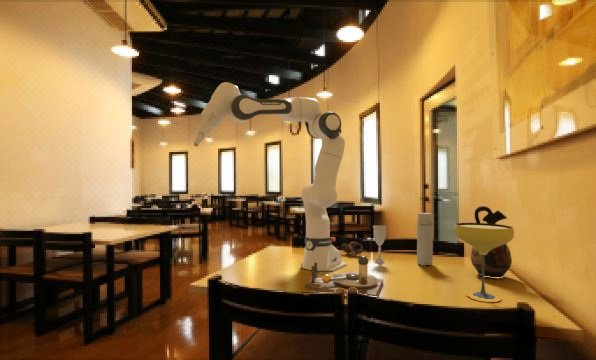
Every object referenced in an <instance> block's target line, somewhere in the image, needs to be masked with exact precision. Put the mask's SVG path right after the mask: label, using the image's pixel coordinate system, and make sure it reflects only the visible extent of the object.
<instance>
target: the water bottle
mask: <svg viewBox="0 0 596 360" xmlns="http://www.w3.org/2000/svg"><path fill="white" fill-rule="evenodd" d="M416 223H417V225H416V230H417V231H416V240H417V241H416V263H417V265H419V264H420V266H422V265H431V266H432V265H433V263H434V262H433V259H434V257H433V256H434V255H433V253H434V252H433V251H434V250H433V249H434V237H433V236H434V235H433V234H434V214H433V213H431V212H430V213H429V212H418V213H417V221H416Z"/></svg>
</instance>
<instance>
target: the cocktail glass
mask: <svg viewBox="0 0 596 360" xmlns="http://www.w3.org/2000/svg"><path fill="white" fill-rule="evenodd" d="M454 233H455V235H456V236H457V238H458V239H460V240H461V241H463V242H464V243H466V244H468V245H469V246H471V247H475V248H476V249H477V250H478V252H479V253H480V254H481V255H482V276H481V288H480V291H475V292H476V293H473V295H474V296H477V297H479V298H484V299H494V298H495V296H493V295H494V294H493V295H491V294H492V293H489V294H488V292H486V287H485V277H484V255H486V254H487V253H488V252H489V251H490V250H491V249H493V248H496V247H498V246H501V245H504V244H508V243H510V242H511V241H512V240H513V239H514V237H515V230H514V227H513V226H510V225H503V224H499V223H498V224H497V223H496V224H487V222H486V223H484V222H482V223H481V222H480V223H476V222H459V223H455V226H454Z"/></svg>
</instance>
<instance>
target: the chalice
mask: <svg viewBox="0 0 596 360" xmlns="http://www.w3.org/2000/svg"><path fill="white" fill-rule="evenodd" d="M372 228H373V238H374V241H375V243H376V245H377V246H378V248H377V249H378V252H377V253H378V256H377V257H376V258H375V260H374V263H375V264H379V265H382V264H385V260H384V258H383V257H382V256H381V255H382V252H381V250H382V247H381V246H382V245H384V244H383V243H384V242H385V239H386V238H387V230H386V229H387V226H386V225H372Z"/></svg>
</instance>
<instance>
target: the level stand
mask: <svg viewBox="0 0 596 360" xmlns="http://www.w3.org/2000/svg"><path fill="white" fill-rule="evenodd" d="M337 274H338V273H333V274H331V276H330V277H331V278H334V276H335V275H337ZM310 275H311V278H310V279H308V280H306V281H305V282H304V283H305V285H304V288H305V289H307V290H309V289H310V290H317V291H318V293H319V292H334V291H335V290H336V289H338V288H344V289H345V294H346V293H347V290H348V289H349V288H348V287H343V286H340V285H337V284H336V283H335V282H334V281H330V282H329V283H327V284H326V283H324V282H323V281H322V277H321V276H320V277H318V271H317V263H314V266H312V270H311V274H310ZM376 278H377V277H376ZM382 285H384V278H377V285H376V286H374V287H370V288H357V290H358V293H362V294H367V295H372V296H378V297H379V295H380V292H381V290H382V288H383V286H382Z"/></svg>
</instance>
